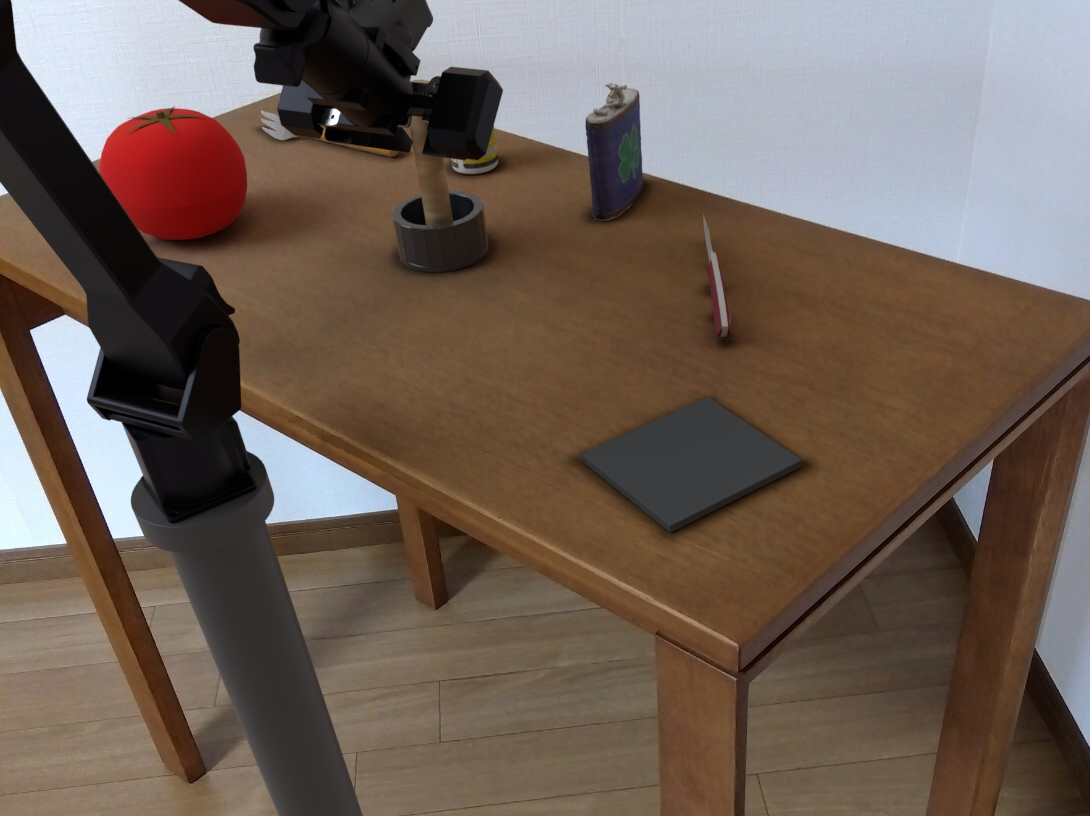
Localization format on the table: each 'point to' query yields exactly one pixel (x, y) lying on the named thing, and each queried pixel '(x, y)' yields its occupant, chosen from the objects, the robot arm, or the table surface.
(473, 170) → the supplement bottle
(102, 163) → the tomato
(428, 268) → the cup
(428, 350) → the table surface
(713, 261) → the knife
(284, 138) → the fork
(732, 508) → the table surface
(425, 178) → the muddler
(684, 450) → the mat
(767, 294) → the table surface
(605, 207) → the flask
